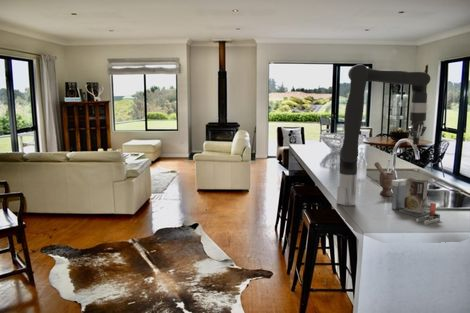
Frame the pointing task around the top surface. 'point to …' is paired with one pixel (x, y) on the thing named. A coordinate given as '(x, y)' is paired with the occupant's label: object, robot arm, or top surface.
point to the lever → (432, 211)
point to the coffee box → (415, 195)
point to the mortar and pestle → (385, 181)
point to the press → (399, 200)
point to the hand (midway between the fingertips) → (415, 144)
